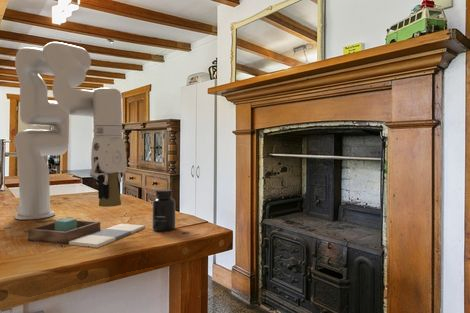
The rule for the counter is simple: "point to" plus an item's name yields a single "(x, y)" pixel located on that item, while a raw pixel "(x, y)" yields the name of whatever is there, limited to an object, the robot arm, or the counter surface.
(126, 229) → the board
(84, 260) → the counter surface
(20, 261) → the counter surface
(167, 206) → the supplement bottle
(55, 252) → the counter surface
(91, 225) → the dice tray
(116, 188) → the cork
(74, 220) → the teal cube
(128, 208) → the counter surface
